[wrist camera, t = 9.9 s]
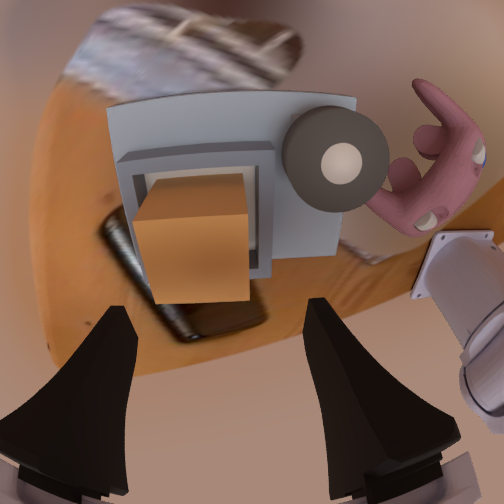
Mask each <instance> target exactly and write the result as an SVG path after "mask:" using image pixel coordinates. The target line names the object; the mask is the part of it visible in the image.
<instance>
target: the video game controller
mask: <svg viewBox="0 0 504 504" xmlns="http://www.w3.org/2000/svg"><path fill="white" fill-rule="evenodd" d="M412 87H413V88H414V90H415V92H416V94H417V95H418V97H419V98H420V99H421V101H422V102H423V103H424V104H425V106H426V107H427V108H428V109H429V110H430V111H431V112H432V113H433V115H434V116H436V118H437V119H438V120H439V121H440V122H441V123H442V126H441V127H439V126H431V125H423V126H420V127H419V128H418V129H417V130H416V131H415V133H414V136H413V142H414V145H415V147H416V149H417V150H418V152H419V154H420V155H421V156H422V157H424V158H426V159H429V160H436V161H435V162H434V164H433V165H432V167H431V168H430V169H429V171H428V172H427V173H426V174H425V175H424V177H423V178H421V174H420V172H419V171H418V169H417V167H416V165H415V164H414V163H413V161H411V160H410V159H408V158H398V159H396V160H395V161H393V162H392V163H391V164H390V166H389V168H388V178H389V181H390V183H391V185H392V189H393V191H392V192H390V191H387V190H385V189H383V188H381V187H380V189H379V190H378V192H377V193H376V194H375V195H374V196H373V197H372V198H371V199H370V200H369V201H367V202H366V203H365V204H366V205H367V206H368V207H369V208H370V209H371V210H372V211H373V212H374V213H376V214H377V215H378V216H379V217H381V218H382V219H383V220H385V221H386V222H387V223H389V224H390V225H391V226H392V227H394V228H395V229H396V230H398V231H399V232H401V233H403V234H405V235H407V236H410V237H420V236H423V235H425V234H427V233H429V232H430V231H431V230H432V229H434V228H436V227H438V226H440V225H441V224H443V223H444V222H446V221H447V220H449V219H450V218H451V217H452V216H453V215H454V214H455V213H456V212H457V211H458V210H459V209H460V208H461V207H462V206H463V205H464V204H465V202H466V201H467V200H468V198H469V197H470V195H471V194H472V192H473V190H474V188H475V187H476V185H477V183H478V180H479V178H480V175H481V171H482V168H483V167H484V165H485V162H486V146H485V139H484V137H483V134H482V133H481V130H480V129H479V127H478V126H477V124H476V123H475V122H474V121H473V119H472V118H471V117H470V116H469V115H468V114H467V113H466V112H465V111H464V110H463V109H462V108H461V107H460V106H459V105H458V104H457V103H456V102H455V101H453V100H452V99H451V98H450V97H449V96H448V95H446V94H445V93H444V92H443V91H442V90H440V89H439V88H438V87H436V86H435V85H433V84H432V83H430V82H428V81H425V80H422V79H414V80H413V81H412Z"/></svg>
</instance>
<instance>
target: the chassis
mask: <svg viewBox="0 0 504 504" xmlns="http://www.w3.org/2000/svg"><path fill="white" fill-rule="evenodd" d="M356 99H357V98H356V97H352V96H348V95H341V94H333V93H322V92H309V91H290V90H231V91H213V92H200V93H189V94H180V95H172V96H164V97H157V98H151V99H144V100H139V101H133V102H128V103H123V104H118V105H114V106H111V107H109V108H106V110H107V118H108V125H109V132H110V138H111V145H112V151H113V156H114V162H115V167H116V173H117V178H118V182H119V187H120V192H121V196H122V201H123V205H124V210H125V214H126V218H127V222H128V226H129V230H130V233H131V237H132V241H133V245H134V248H135V252H136V255H137V259H138V262H139V265H140V266H141V269H142V272H143V276H144V279H145V282H146V284H147V283H149V281H148V278H147V274H146V271H145V267H144V264H143V260H142V257H141V253H140V250H139V246H138V242H137V238H136V235H135V231H134V227H133V222H132V221H133V219H134V218H135V216H136V214H137V212H138V210H139V209H140V207H141V205H142V203H143V201H144V200H145V198H146V196H147V195H148V193H149V191H150V189H151V188H152V186H153V184H154V183H155V181H156V179H164V178H175V177H186V176H199V175H215V174H233V173H243V180H244V188H245V195H246V202H247V210H248V236H249V279H259V278H271V272H272V259H281V258H299V257H316V256H333V255H336V251H337V246H338V241H339V235H340V229H341V224H342V218H343V212H339V213H330V212H324V211H320V210H317V209H315V208H313V207H311V206H310V205H308V204H306V203H305V202H304V201H303V200H302V199H301V198H300V197H299V196H298V195H297V193H296V192H295V190H294V188H293V186H292V185H291V183H290V181H289V179H288V177H287V175H286V173H285V171H284V167H283V164H282V145H283V141H284V138H285V135H286V133H287V131H288V129H289V128H290V126H291V125H292V124H293V122H294V121H295V120H296V119H297V118H298V117H300V116H301V115H302V114H304V113H305V112H307V111H309V110H311V109H313V108H316V107H320V106H327V105H332V106H340V107H344V108H347V109H349V110H352V111H355V112H356Z"/></svg>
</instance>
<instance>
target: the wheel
mask: <svg viewBox="0 0 504 504" xmlns="http://www.w3.org/2000/svg"><path fill="white" fill-rule="evenodd" d="M282 164H283V167H284V171H285V173H286V175H287V177H288V179H289V181H290V183H291V185H292V186H293V188H294V190H295V192H296V193H297V195H298V196H299V197H300V198H301V199H302V200H303V201H304V202H305V203H306V204H308V205H310V206H311V207H313V208H315V209H317V210H320V211H324V212H330V213H339V212H346V211H350V210H353V209H355V208H357V207H360V206H361V205H363V204H365V203H366V202H367V201H369V200H370V199H371V198H372V197H373V196H374V195H375V194H376V193H377V192H378V190H379V189H380V187H381V186H382V184H383V182H384V180H385V178H386V175H387V172H388V168H389V148H388V144H387V141H386V139H385V136H384V135H383V133H382V131H381V130H380V128H379V127H378V126H377V125H376V124H375V123H374V122H373V121H372V120H370V119H369V118H367V117H366V116H364V115H362V114H360V113H357V112H355V111H352V110H349V109H347V108H344V107H340V106H332V105H327V106H320V107H316V108H313V109H311V110H309V111H307V112H305V113H304V114H302V115H301V116H300V117H298V118H297V119H296V120H295V121H294V122H293V124H292V125H291V126H290V128H289V129H288V131H287V133H286V135H285V138H284V141H283V145H282Z"/></svg>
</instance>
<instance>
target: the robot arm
mask: <svg viewBox="0 0 504 504" xmlns="http://www.w3.org/2000/svg"><path fill="white" fill-rule="evenodd" d="M493 236H494V232H493V231H492V230H460V231H437V232H435V234H434V235H433V238H432V241H431V244H430V247H429V250H428V252H427V255H426V258H425V260H424V263H423V265H422V268H421V270H420V273H419V275H418V278H417V280H416V282H415V285H414V287H413V289H412V292H411V294H410V297H411V299H419V298H425V297H430V296H431V297H432V298H433V300H434V301H435V303H436V305H437V306H438V308H439V309H440V311H441V312H442V314H443V316H444V317H445V319H446V321H447V322H448V324H449V325H450V327H451V329H452V330H453V332H454V334H455V336H456V337H457V339H458V341H459V342H460V344H461V346H462V348H463V349H464V351H463V353H462V354H461V355H460V359H461V361H462V363H463V365H462V367H461V369H460V373H459V381H460V390H461V393H462V396H463V398H464V400H465V402H466V404H467V405H468V407H469V408H470V409H471V410H472V411H473V412H474V413H476V414H477V415H479V417H480V418H481V419H482V420H483V421H484V422H485V424H486V425H487V427H488V428H489V430H490V432H491V433H493V434H504V253H503V252H502V250H501V249H500V248H499V247H498V246H497V245H496V244H495V243H494V242H493V241H492V238H493ZM303 339H304V345H305V351H306V356H307V360H308V363H309V367H310V370H311V374H312V378H313V381H314V385H315V388H316V392H317V395H318V399H319V403H320V408H321V412H322V419H323V426H324V433H325V441H326V450H327V461H328V476H329V494H330V500H335V499H339V498H343V497H347V496H351V495H352V499H353V500H351V501H347V502H343V503H339V504H474V503H475V502H477V501H478V500H479V499H481V497H482V496H481V493H480V488H479V485H478V481H477V477H476V474H475V470H474V467H473V464H472V461H471V457H470V454H469V452H465V453H464V454H462V455H460V456H458V457H456V458H455V459H453V460H451V461H449V462H447V463H445V464H443V465H440V462H439V461H440V460H442V458H443V457H442V454H441V451H443V450H445V449H447V448H448V447H450V446H451V445H453V444H455V443H456V442H458V441H459V440H460V438H461V435H460V432H459V429H458V426H457V424H456V421H455V419H454V417H452V416H450V415H448V414H446V413H444V412H442V411H441V410H439V409H437V408H435V407H434V406H432V405H430V404H429V403H427V402H426V401H424V400H423V399H421V398H420V397H419V396H417V395H416V394H415V393H413V392H412V391H411V390H409V389H408V388H407V387H405V386H404V385H403V384H401V383H400V382H399V381H398V380H397V379H396V378H394V377H393V376H392V375H391V374H390V373H389V372H388V371H387V370H386V369H384V368H383V367H382V366H381V365H380V364H379V363H378V362H377V361H376V360H375V359H374V358H373V357H372V355H370V353H369V352H368V351H367V350H366V349H365V348H364V347H363V346H362V345H361V343H360V342H359V341H358V340H357V339H356V337H355V336H354V335H353V334H352V333H351V332H350V330H349V329H348V328H347V327H346V325H345V324H344V323H343V321H342V320H341V319H340V317H339V316H338V315H337V314H336V312H335V311H334V309H333V308H332V307H331V305H330V304H329V303H328V301H327V300H326V299H325V298H324V297H322V298H311V299H309V300H308V306H307V311H306V317H305V322H304V327H303ZM137 346H138V336H137V334H136V332H135V330H134V328H133V325H132V323H131V321H130V319H129V316H128V314H127V312H126V309H125V307H124V306H110V307H109V308H108V310H107V311H106V312H105V313H104V315H103V316H102V317H101V319H100V320H99V321H98V323H97V324H96V325H95V327H94V328H93V329H92V331H91V332H90V333H89V334H88V336H87V337H86V338H85V340H84V341H83V342H82V344H81V345H80V346H79V347H78V349H77V350H76V351H75V352H74V354H73V355H72V356H71V357H70V359H69V360H68V361H67V362H66V363H65V365H64V366H63V367H62V368H61V369H60V370H59V371H58V372H57V374H56V375H55V376H54V377H53V378H52V379H51V380H50V381H49V382H48V383H47V384H46V385H45V386H44V387H42V388H41V389H40V390H39V391H38V392H37V393H36V394H35V395H34V396H33V397H32V398H30V399H29V400H28V401H27V402H26V403H24V404H23V405H22V406H21V407H19V408H18V409H17V410H15V411H13V412H12V413H10V414H9V415H7V416H6V417H4V418H3V419H1V420H0V453H1V454H3V455H4V456H6V457H8V458H10V459H11V460H13V461H15V462H17V463H19V464H20V466H19V468H16V467H14V466H12V465H11V464H9V463H7V462H5V461H4V460H2V459H0V504H113V503H109V502H105V501H101V496H105V497H109V494H110V493H112V494H116V495H121V496H124V495H125V494H127V493H128V492H129V490H128V484H127V477H126V466H125V442H124V441H125V416H126V408H127V401H128V396H129V392H130V386H131V381H132V377H133V372H134V368H135V363H136V356H137Z"/></svg>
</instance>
